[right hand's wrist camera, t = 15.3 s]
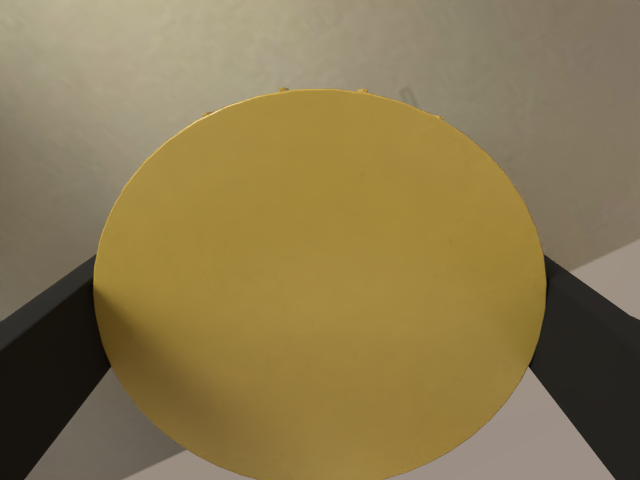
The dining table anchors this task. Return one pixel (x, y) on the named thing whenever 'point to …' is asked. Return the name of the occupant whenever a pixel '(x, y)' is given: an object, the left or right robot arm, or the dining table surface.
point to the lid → (319, 287)
